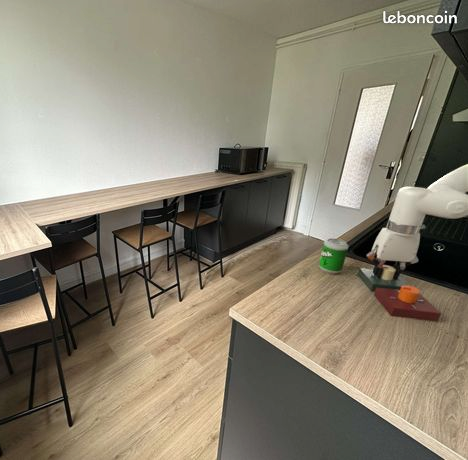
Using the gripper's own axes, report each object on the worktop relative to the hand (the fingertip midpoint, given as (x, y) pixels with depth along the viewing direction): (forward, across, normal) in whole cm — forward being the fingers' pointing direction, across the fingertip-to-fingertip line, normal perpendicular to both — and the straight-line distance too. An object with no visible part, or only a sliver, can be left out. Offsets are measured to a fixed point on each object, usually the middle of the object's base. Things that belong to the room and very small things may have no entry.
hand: (384, 276), depth 85 cm
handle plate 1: (+3, 0, 0) cm, 3 cm away
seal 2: (0, 0, +12) cm, 12 cm away
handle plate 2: (+3, 0, +12) cm, 12 cm away
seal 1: (0, 0, 0) cm, 0 cm away
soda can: (+4, +14, -7) cm, 16 cm away
